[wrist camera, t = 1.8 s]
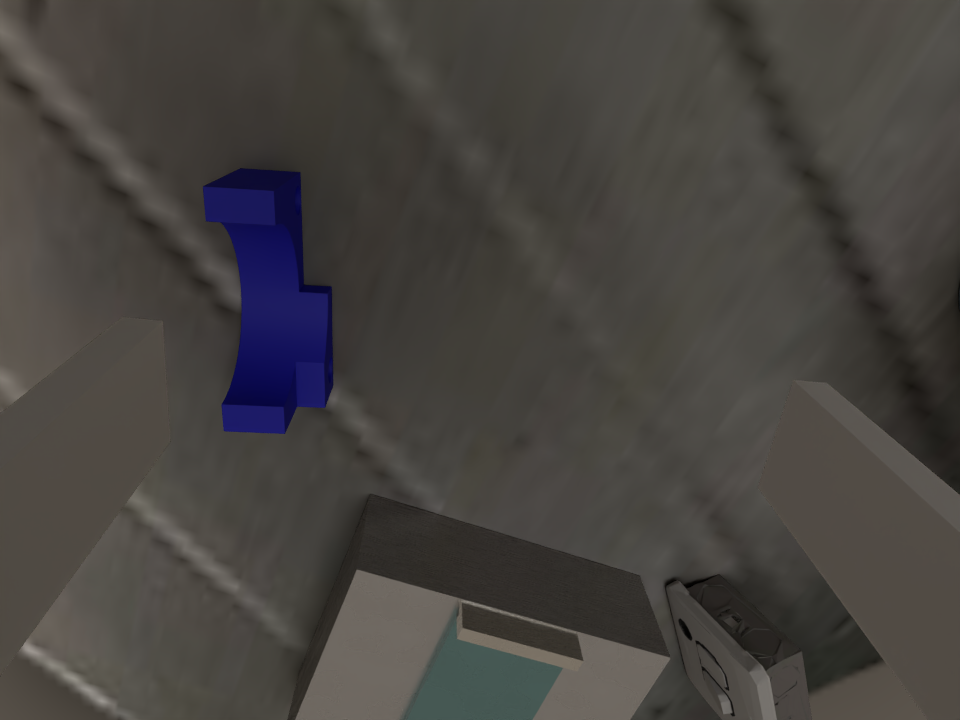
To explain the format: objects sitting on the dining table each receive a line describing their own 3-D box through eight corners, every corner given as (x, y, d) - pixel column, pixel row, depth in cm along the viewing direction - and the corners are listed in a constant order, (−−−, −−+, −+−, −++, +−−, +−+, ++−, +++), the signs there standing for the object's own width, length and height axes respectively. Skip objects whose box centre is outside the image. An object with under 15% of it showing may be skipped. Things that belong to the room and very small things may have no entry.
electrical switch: (661, 577, 47) (725, 688, 38) (733, 553, 47) (813, 658, 38) (685, 674, 50) (748, 794, 42) (751, 651, 50) (828, 766, 42)
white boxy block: (298, 673, 48) (267, 798, 40) (370, 493, 43) (352, 596, 35) (543, 734, 52) (562, 861, 44) (639, 575, 46) (681, 686, 38)
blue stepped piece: (333, 384, 40) (315, 434, 34) (255, 380, 40) (223, 431, 34) (330, 173, 35) (308, 193, 30) (241, 167, 35) (203, 186, 30)
